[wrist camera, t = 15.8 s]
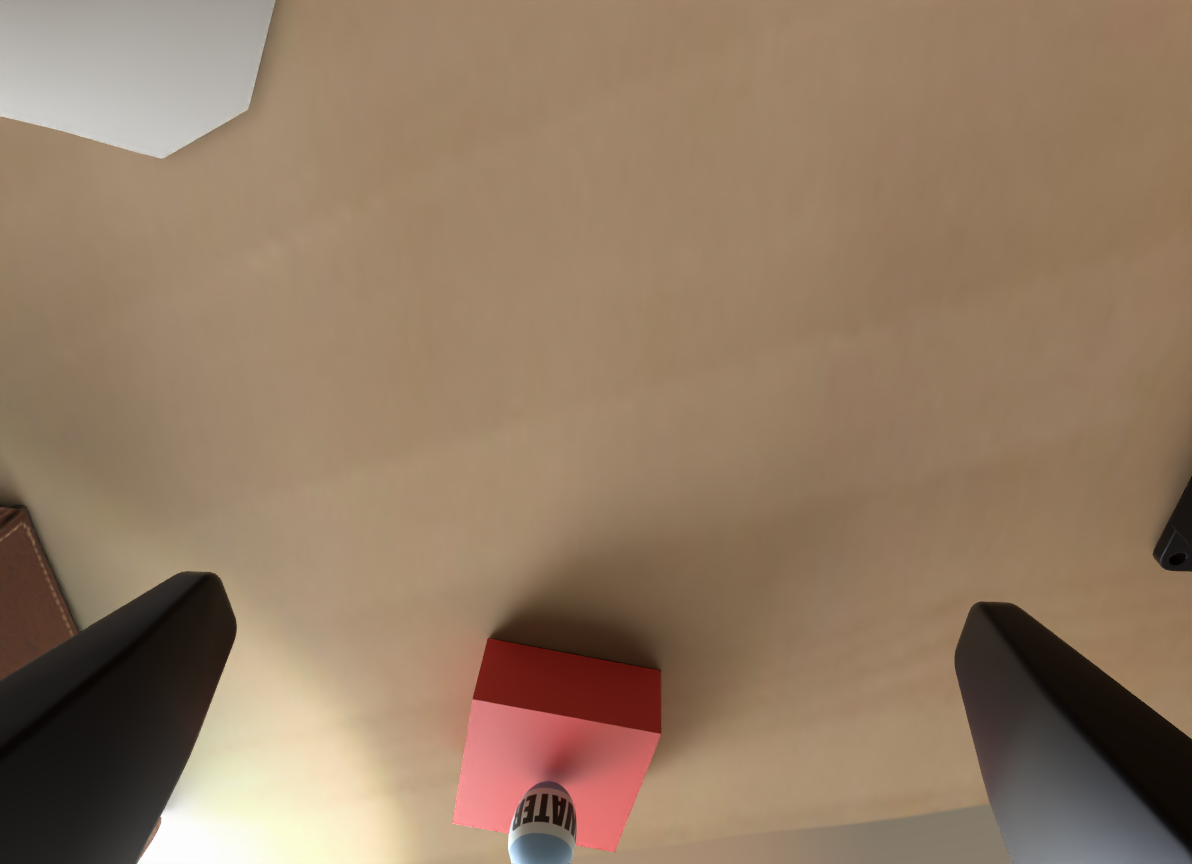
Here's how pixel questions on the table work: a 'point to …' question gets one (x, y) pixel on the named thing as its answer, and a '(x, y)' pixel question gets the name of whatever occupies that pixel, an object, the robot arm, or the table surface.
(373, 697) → the table surface
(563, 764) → the red slab
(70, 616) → the letter holder
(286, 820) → the table surface
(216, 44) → the flask
